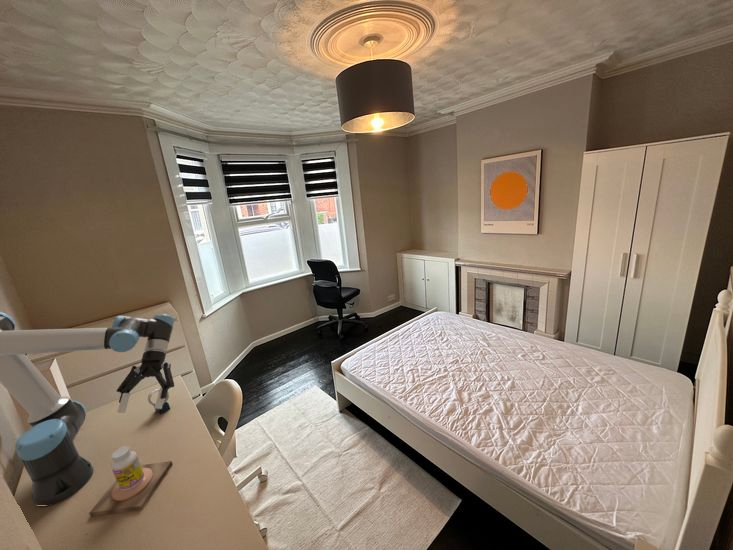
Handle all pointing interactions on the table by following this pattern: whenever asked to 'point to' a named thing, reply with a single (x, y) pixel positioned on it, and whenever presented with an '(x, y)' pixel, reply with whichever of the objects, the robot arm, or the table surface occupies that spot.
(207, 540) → the table surface
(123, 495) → the pink dome
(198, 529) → the table surface
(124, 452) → the supplement bottle
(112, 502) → the square brown tray
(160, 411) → the watch
